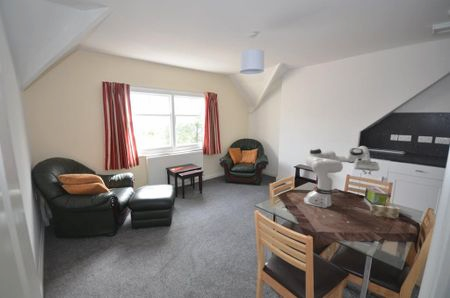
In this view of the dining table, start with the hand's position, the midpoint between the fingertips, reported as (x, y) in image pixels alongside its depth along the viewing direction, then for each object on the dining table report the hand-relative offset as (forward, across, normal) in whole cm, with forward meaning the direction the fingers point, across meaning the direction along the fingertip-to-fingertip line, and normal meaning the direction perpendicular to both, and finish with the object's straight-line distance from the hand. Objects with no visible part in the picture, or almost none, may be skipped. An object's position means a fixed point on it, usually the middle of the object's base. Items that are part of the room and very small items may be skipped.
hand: (367, 173), depth 192 cm
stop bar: (+43, 0, +13) cm, 45 cm away
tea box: (+31, 0, 0) cm, 31 cm away
